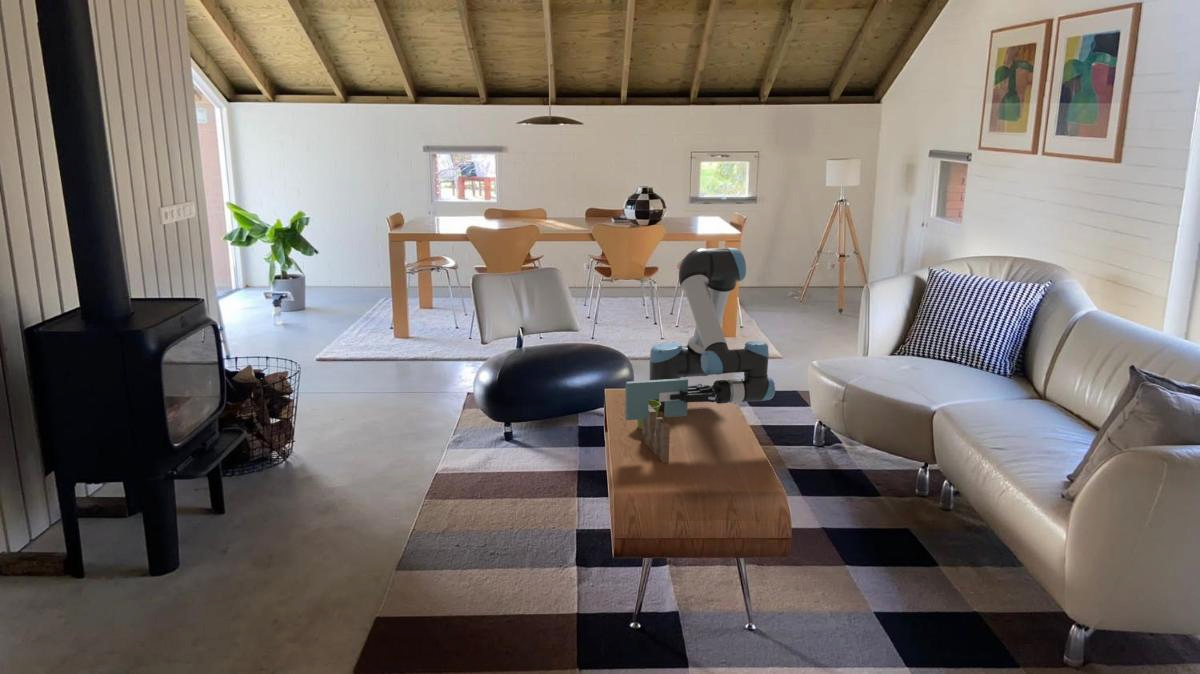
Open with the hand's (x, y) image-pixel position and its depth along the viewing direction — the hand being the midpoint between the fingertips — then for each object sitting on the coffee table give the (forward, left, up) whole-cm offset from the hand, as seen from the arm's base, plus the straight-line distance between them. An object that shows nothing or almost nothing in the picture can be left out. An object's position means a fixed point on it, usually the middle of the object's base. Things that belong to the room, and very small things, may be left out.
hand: (658, 395), depth 266 cm
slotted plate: (0, 0, -7) cm, 7 cm away
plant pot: (-22, +4, -18) cm, 29 cm away
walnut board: (0, 0, -18) cm, 18 cm away
